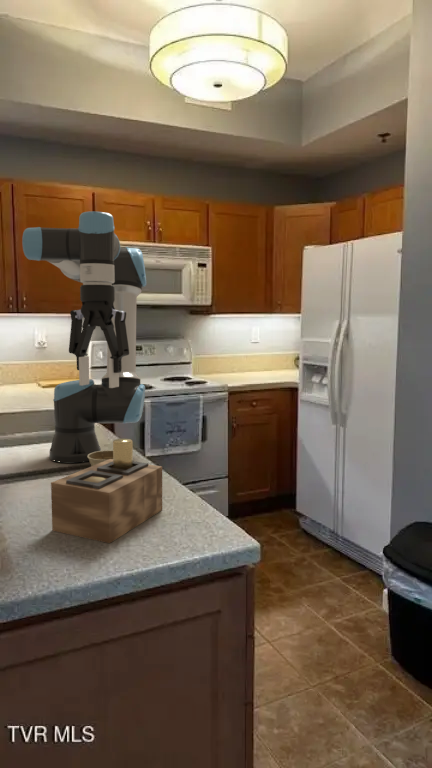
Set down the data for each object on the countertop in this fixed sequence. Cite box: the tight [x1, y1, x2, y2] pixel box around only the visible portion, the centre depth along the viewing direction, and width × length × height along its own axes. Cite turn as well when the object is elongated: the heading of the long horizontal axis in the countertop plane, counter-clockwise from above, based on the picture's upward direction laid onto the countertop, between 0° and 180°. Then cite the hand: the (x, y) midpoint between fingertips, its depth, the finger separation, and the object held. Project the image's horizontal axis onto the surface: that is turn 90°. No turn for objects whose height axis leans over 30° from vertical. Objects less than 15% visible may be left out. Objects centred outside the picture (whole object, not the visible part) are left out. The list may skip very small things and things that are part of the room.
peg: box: [112, 438, 134, 470], centre depth 120 cm, size 4×4×8 cm
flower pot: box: [87, 449, 113, 467], centre depth 137 cm, size 9×9×9 cm
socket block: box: [50, 459, 163, 544], centre depth 116 cm, size 20×14×11 cm
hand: (99, 385), depth 125 cm, fingers open, 8 cm apart
